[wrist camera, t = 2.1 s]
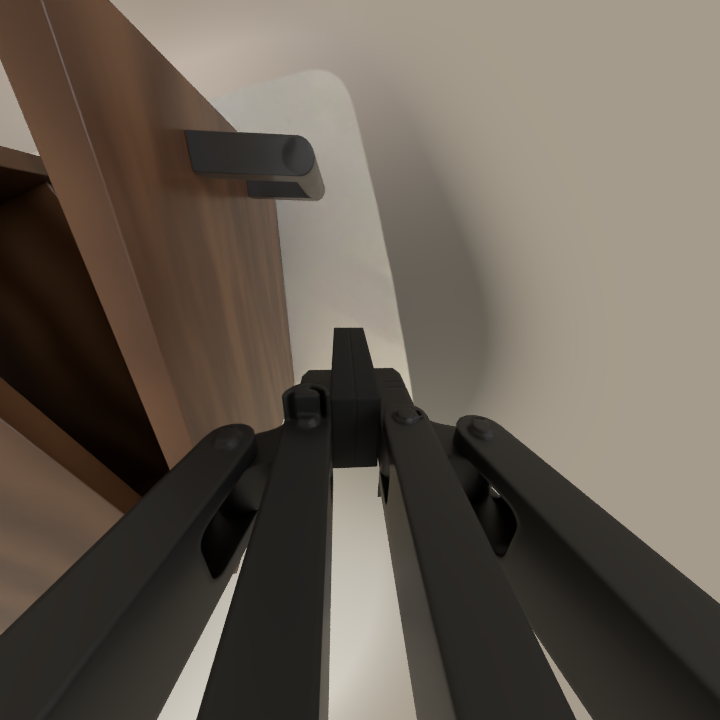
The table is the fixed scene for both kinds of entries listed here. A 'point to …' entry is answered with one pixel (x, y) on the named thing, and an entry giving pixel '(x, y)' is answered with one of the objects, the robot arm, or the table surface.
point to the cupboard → (58, 398)
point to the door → (163, 214)
